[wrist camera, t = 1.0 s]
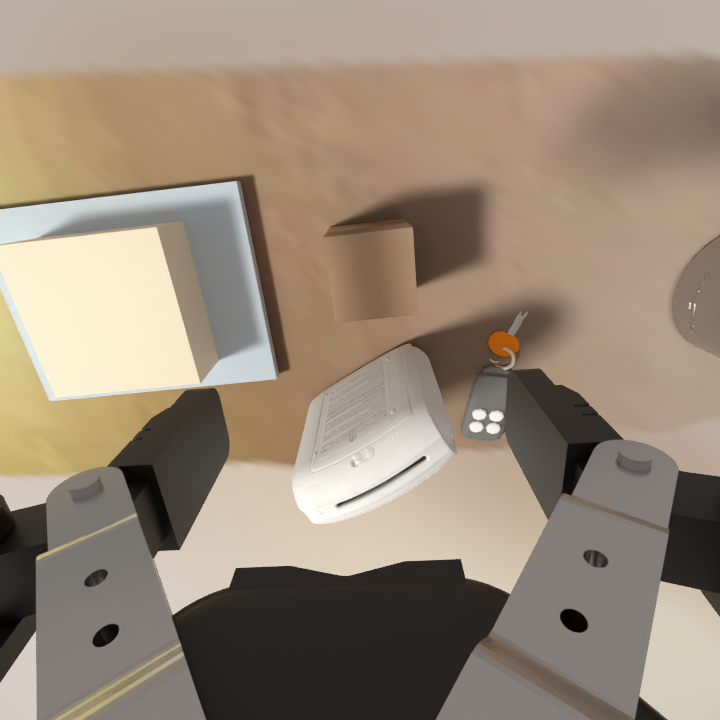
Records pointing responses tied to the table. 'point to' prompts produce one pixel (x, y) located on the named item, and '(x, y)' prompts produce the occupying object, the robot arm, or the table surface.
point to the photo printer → (372, 438)
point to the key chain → (491, 389)
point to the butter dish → (137, 291)
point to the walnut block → (371, 270)
